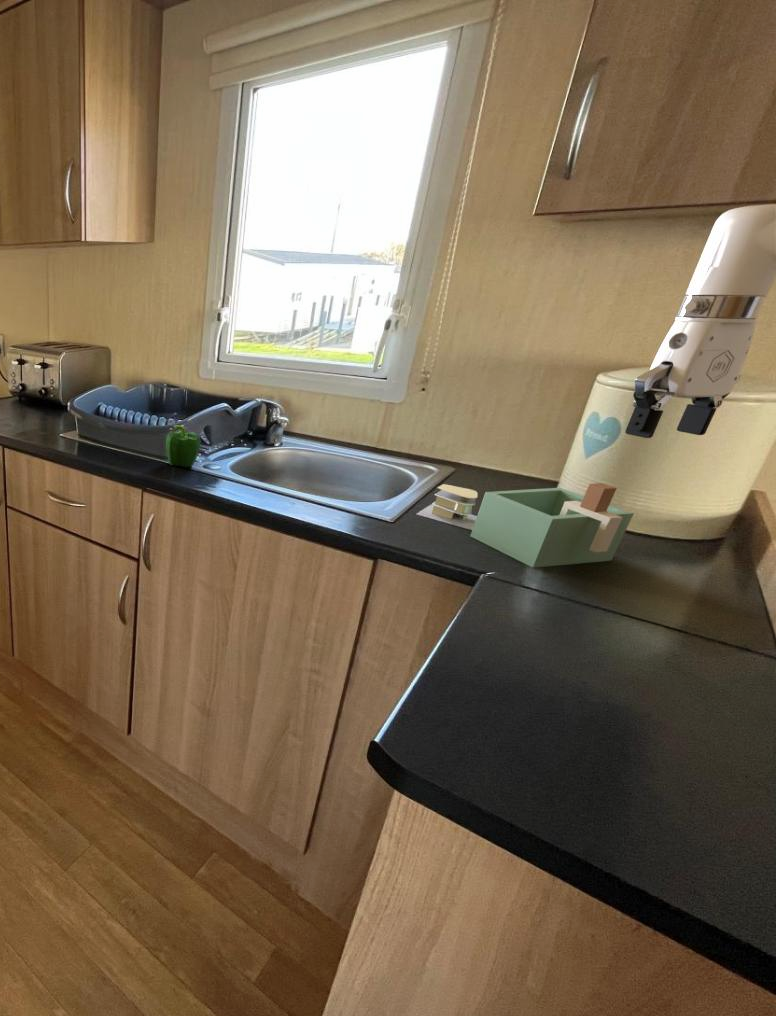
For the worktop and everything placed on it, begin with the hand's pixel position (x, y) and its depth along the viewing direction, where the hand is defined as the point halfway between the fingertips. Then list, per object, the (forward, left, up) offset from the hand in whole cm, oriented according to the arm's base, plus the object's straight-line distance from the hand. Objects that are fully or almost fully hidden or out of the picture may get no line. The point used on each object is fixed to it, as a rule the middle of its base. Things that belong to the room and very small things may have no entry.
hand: (664, 434), depth 81 cm
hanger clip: (+2, -3, -19) cm, 19 cm away
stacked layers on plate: (+6, -24, -23) cm, 34 cm away
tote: (+2, -9, -23) cm, 25 cm away
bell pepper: (+48, -64, -23) cm, 83 cm away
